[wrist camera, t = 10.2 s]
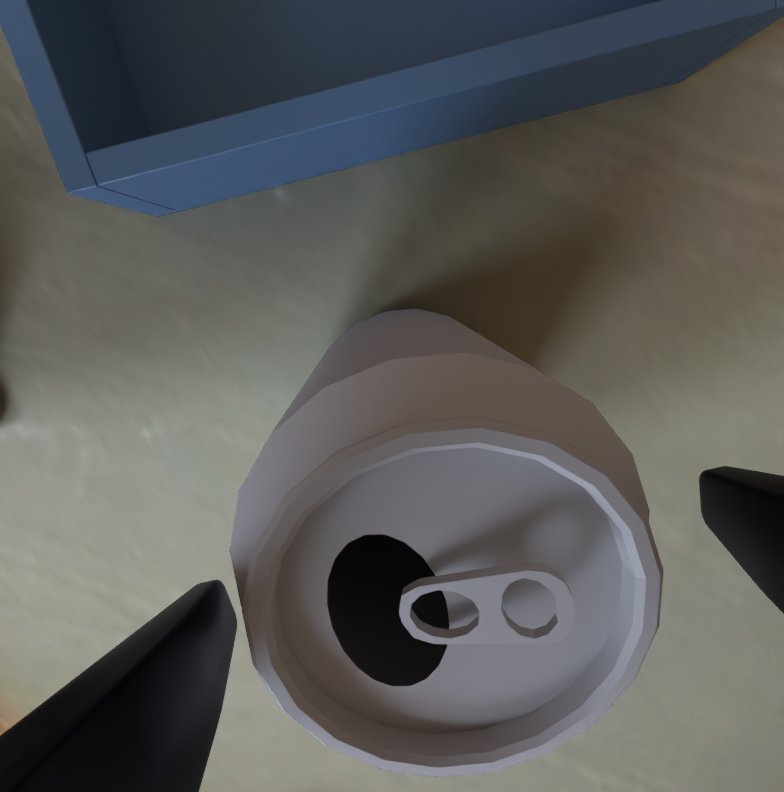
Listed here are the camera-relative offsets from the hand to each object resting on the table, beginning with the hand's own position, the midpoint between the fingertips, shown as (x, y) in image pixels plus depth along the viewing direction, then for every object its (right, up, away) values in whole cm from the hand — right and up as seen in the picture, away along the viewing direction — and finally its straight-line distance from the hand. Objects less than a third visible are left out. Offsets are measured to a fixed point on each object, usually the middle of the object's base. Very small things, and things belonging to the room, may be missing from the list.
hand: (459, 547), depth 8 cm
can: (-1, +3, +10) cm, 10 cm away
